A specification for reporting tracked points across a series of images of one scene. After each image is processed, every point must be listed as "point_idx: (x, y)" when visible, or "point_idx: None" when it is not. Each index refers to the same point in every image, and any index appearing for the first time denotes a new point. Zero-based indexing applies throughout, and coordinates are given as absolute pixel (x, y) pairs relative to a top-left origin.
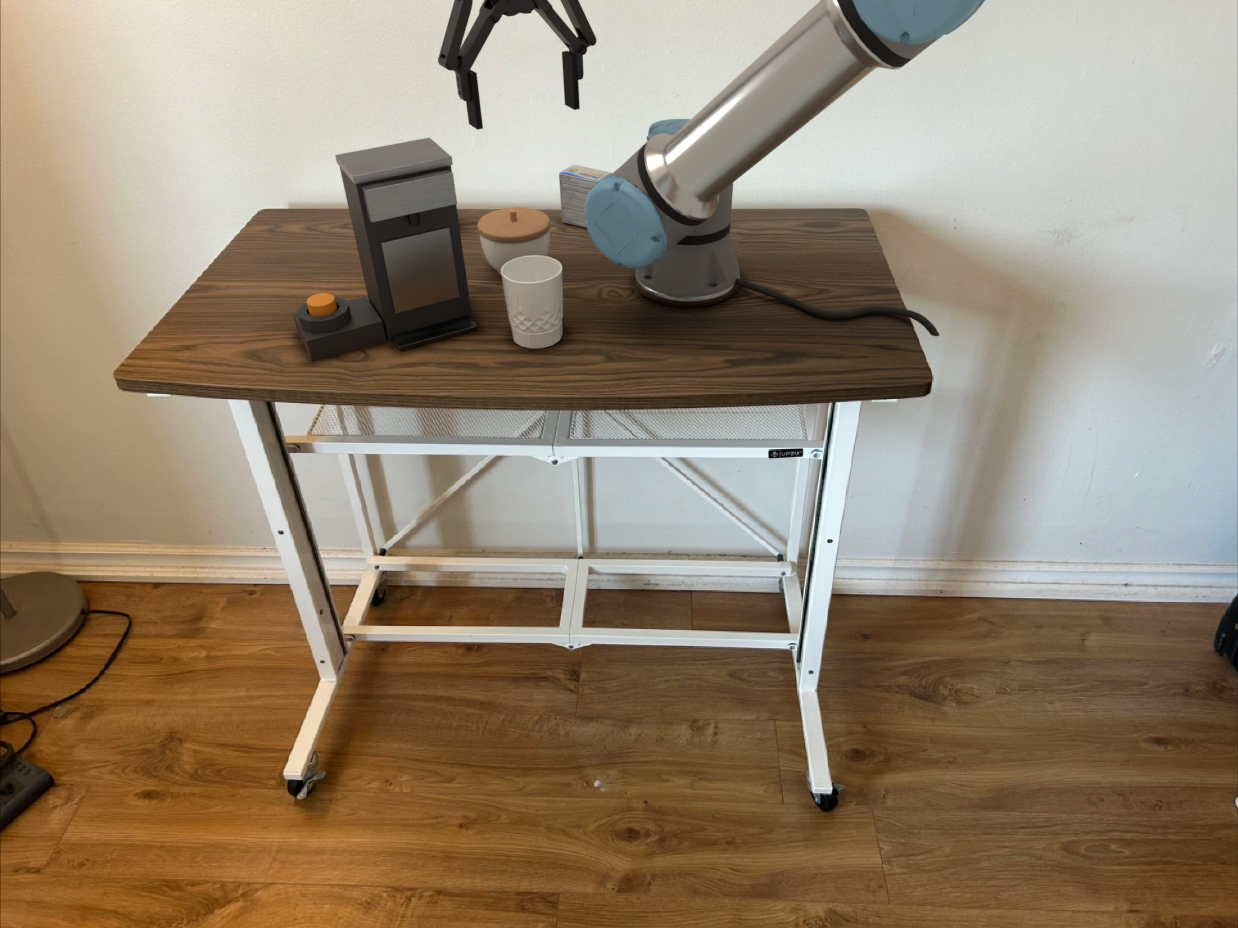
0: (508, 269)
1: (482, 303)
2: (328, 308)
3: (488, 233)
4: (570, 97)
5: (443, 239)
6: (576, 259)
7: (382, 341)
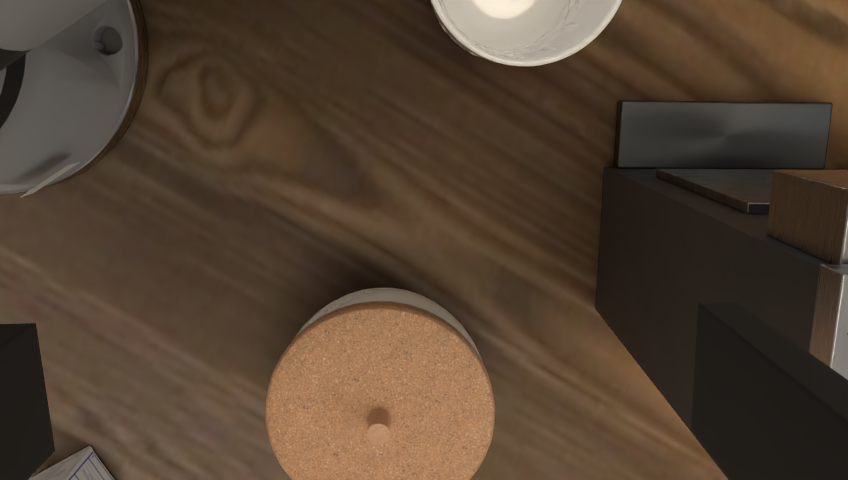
0: (573, 41)
1: (546, 231)
2: None
3: (485, 377)
4: (7, 396)
5: (758, 196)
6: (222, 331)
7: (843, 169)
